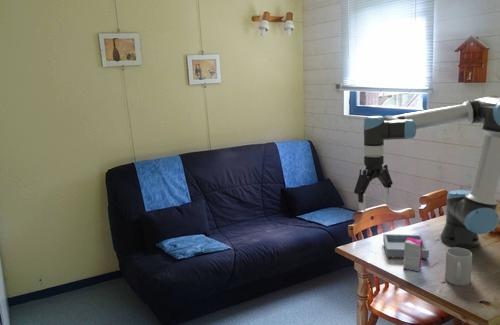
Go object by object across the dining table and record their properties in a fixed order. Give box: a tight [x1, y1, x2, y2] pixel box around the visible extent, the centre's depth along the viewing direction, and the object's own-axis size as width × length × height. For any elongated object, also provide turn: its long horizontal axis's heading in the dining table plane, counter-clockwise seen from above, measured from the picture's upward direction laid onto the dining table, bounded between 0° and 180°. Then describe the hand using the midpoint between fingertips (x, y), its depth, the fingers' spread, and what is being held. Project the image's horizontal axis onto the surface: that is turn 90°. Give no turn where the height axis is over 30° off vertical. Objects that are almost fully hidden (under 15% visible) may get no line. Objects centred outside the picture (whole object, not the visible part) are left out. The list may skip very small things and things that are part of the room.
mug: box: [444, 246, 473, 286], centre depth 151 cm, size 12×8×11 cm
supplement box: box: [403, 238, 423, 273], centre depth 163 cm, size 6×6×12 cm
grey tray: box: [382, 233, 430, 262], centre depth 178 cm, size 16×16×5 cm
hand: (373, 206), depth 171 cm, fingers open, 13 cm apart
